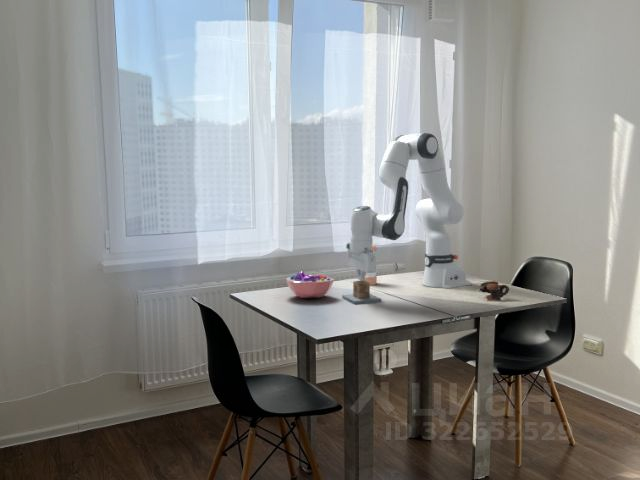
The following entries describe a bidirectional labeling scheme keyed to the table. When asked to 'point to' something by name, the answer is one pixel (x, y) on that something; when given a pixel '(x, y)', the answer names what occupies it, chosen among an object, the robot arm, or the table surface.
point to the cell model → (309, 285)
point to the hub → (362, 300)
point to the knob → (361, 289)
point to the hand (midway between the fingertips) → (361, 280)
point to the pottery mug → (494, 290)
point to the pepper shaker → (371, 276)
